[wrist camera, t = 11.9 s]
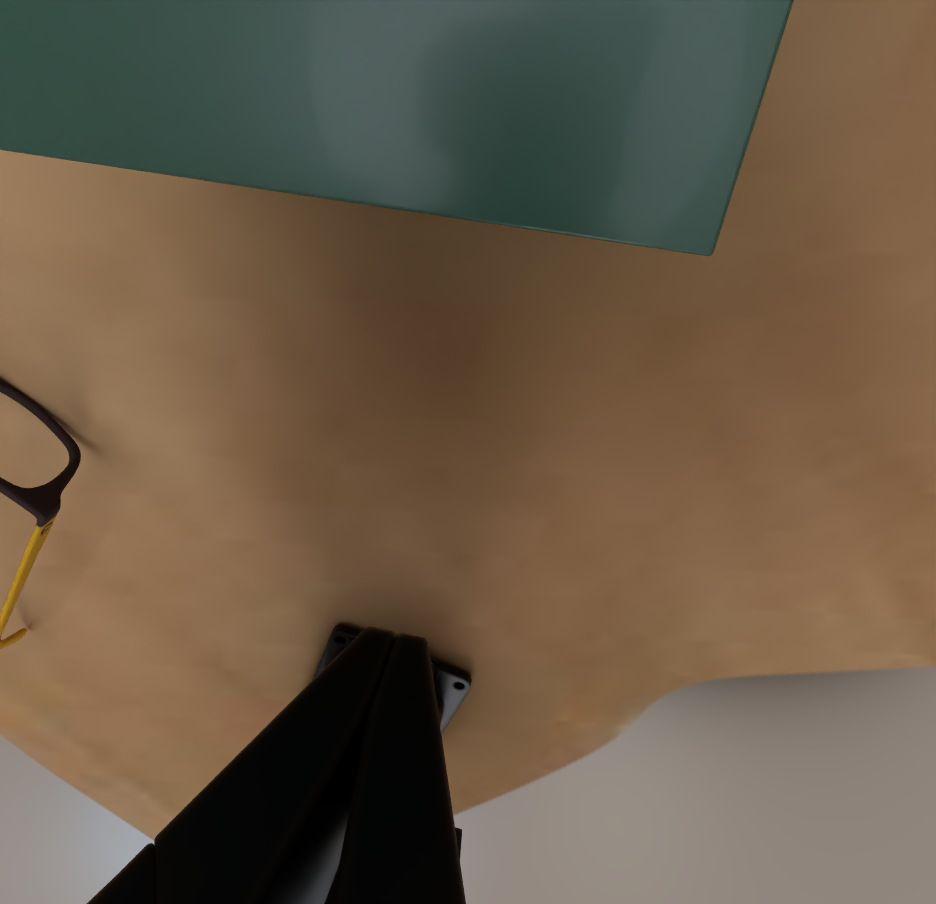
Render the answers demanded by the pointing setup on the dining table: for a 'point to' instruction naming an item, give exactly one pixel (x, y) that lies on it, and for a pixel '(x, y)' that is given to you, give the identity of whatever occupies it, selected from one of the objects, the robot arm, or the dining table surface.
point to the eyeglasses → (35, 505)
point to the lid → (411, 102)
